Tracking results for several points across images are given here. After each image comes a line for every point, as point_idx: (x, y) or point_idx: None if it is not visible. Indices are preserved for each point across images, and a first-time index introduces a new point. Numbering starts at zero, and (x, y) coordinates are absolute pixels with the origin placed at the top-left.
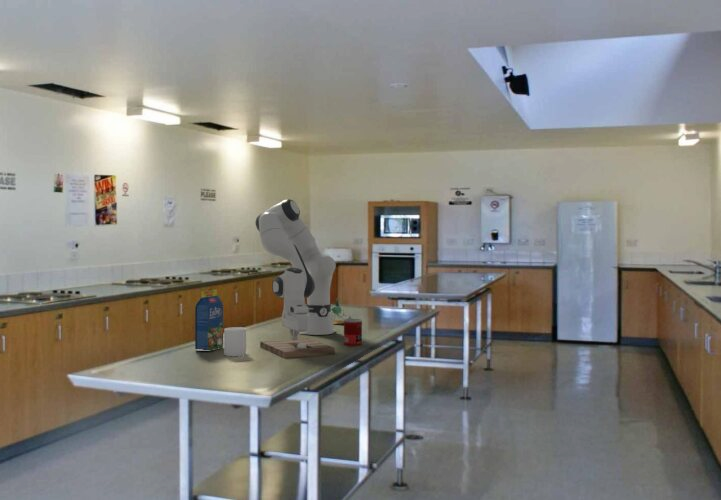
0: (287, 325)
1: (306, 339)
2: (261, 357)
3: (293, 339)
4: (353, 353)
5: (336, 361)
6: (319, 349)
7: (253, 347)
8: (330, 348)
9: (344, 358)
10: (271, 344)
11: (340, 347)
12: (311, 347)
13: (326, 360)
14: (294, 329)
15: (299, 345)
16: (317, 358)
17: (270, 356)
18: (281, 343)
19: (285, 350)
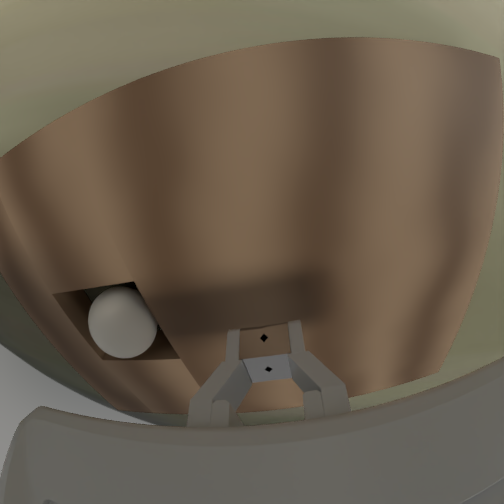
0: (376, 437)
1: (405, 371)
2: (9, 31)
3: (227, 333)
4: (137, 417)
5: (2, 343)
6: (74, 366)
7: (471, 13)
8: (107, 398)
9: (49, 376)
10: (303, 85)
11: (270, 422)
12: (116, 358)
13: (2, 327)
14: (111, 427)
15: (89, 318)
16: (19, 315)
17: (23, 82)
18: (337, 209)
19: None
